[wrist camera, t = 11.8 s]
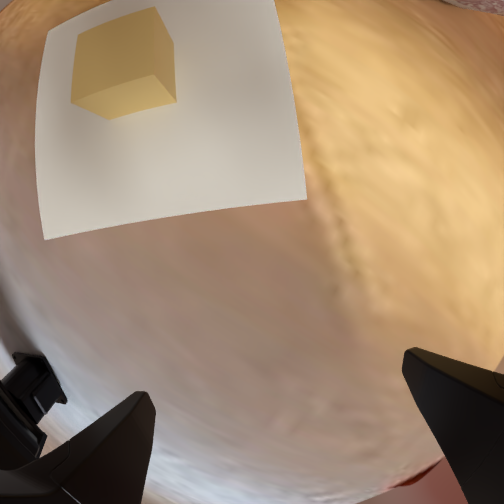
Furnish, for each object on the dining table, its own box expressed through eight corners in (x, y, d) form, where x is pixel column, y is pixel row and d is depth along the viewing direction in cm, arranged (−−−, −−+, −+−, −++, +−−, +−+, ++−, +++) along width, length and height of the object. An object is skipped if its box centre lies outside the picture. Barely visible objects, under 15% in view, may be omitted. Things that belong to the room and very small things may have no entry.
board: (54, 236, 18) (44, 240, 17) (55, 36, 14) (48, 31, 13) (302, 198, 19) (307, 199, 17) (264, -20, 14) (266, -30, 13)
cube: (109, 120, 15) (70, 103, 11) (109, 61, 14) (77, 34, 9) (176, 102, 15) (153, 74, 11) (173, 43, 14) (154, 6, 9)
